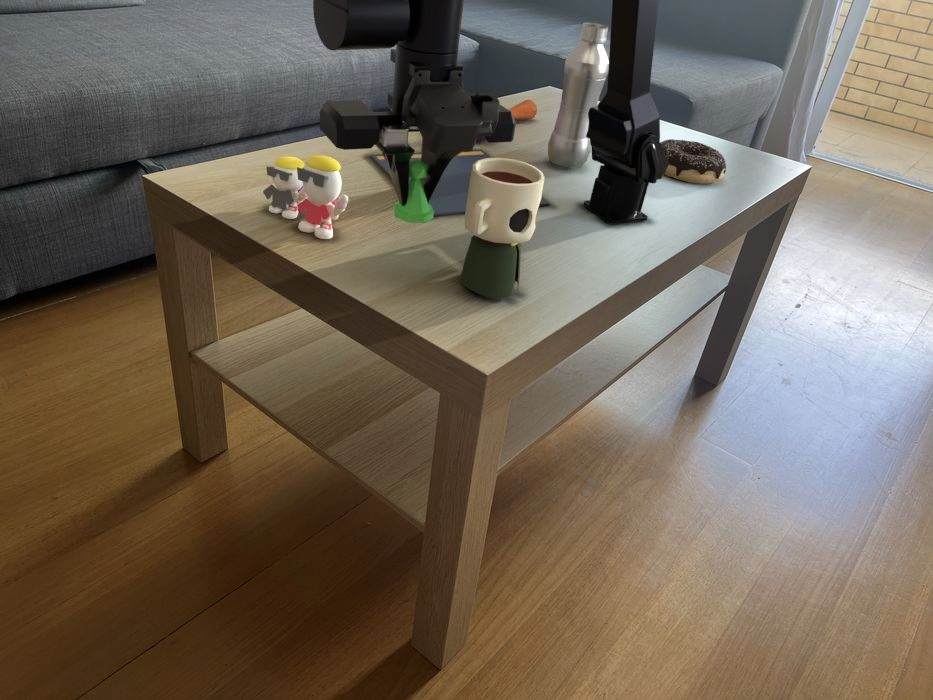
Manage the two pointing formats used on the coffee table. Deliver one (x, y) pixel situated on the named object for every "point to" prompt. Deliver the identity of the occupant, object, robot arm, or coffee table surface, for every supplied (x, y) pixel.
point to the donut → (693, 161)
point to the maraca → (520, 112)
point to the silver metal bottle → (579, 97)
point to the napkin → (450, 182)
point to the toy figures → (307, 192)
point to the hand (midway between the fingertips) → (413, 203)
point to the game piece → (415, 197)
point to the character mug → (499, 223)
